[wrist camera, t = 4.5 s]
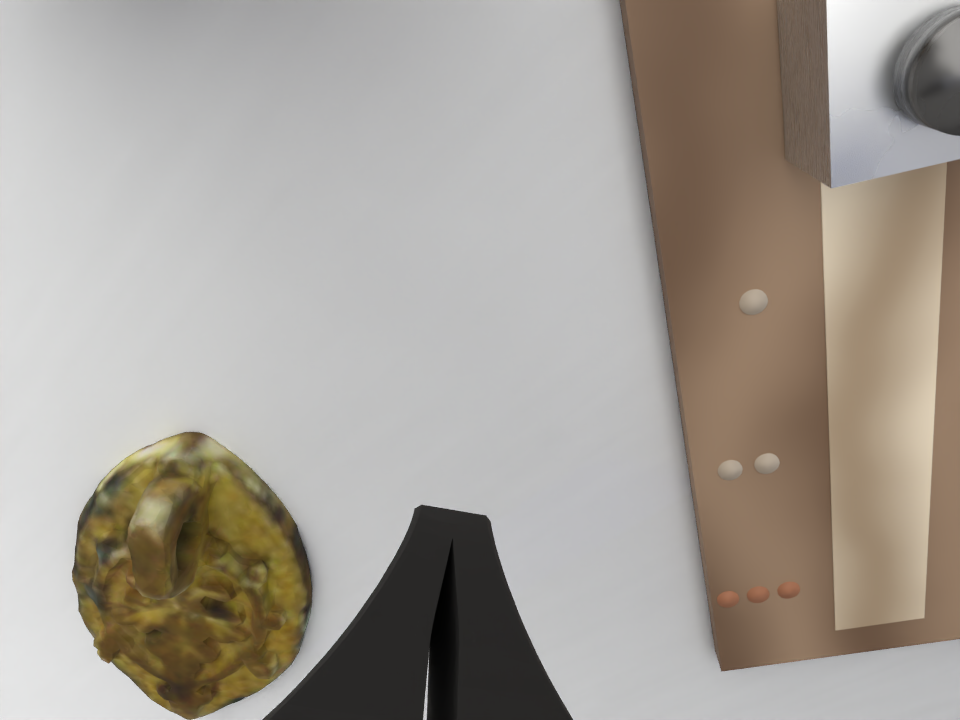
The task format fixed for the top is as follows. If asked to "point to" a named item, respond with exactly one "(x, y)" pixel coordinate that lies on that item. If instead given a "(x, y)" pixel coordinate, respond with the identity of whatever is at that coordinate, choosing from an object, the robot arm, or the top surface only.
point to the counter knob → (869, 86)
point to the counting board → (800, 352)
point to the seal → (191, 575)
